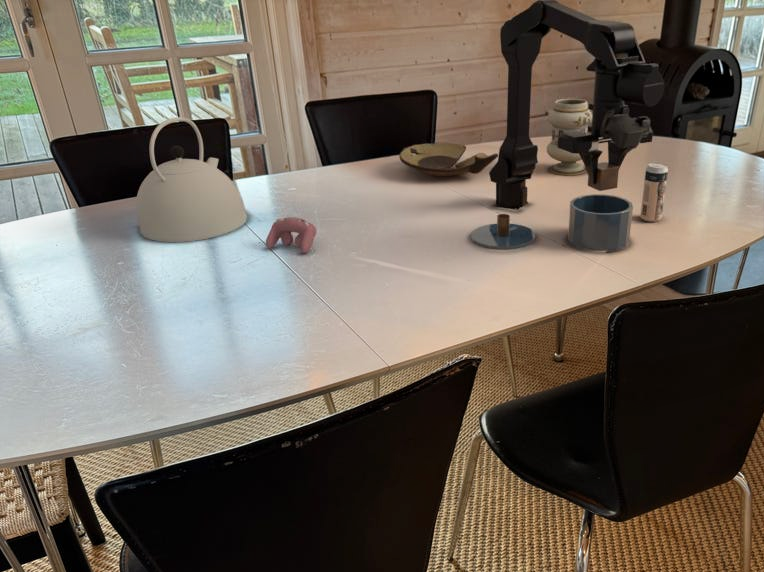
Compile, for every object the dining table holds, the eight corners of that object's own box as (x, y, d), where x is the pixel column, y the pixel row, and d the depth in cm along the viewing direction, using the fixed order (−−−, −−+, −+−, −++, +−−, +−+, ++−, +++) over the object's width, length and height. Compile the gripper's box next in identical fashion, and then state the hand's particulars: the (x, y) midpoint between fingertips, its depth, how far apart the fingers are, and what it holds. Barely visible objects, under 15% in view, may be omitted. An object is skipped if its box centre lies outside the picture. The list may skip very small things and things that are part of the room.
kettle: (184, 201, 163) (160, 104, 151) (269, 206, 159) (251, 107, 147) (117, 238, 143) (83, 129, 131) (213, 245, 138) (187, 133, 127)
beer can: (661, 223, 147) (669, 168, 140) (639, 222, 148) (646, 167, 141) (661, 216, 151) (668, 162, 144) (639, 214, 152) (646, 161, 145)
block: (599, 191, 130) (601, 169, 128) (587, 185, 133) (588, 164, 131) (617, 188, 132) (619, 166, 130) (604, 182, 135) (606, 161, 133)
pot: (558, 246, 136) (560, 208, 132) (580, 227, 145) (583, 191, 141) (617, 257, 131) (621, 218, 127) (635, 236, 140) (640, 199, 136)
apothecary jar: (546, 163, 188) (549, 96, 179) (589, 164, 187) (595, 97, 178) (544, 175, 178) (547, 105, 169) (589, 177, 177) (595, 106, 167)
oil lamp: (454, 156, 196) (453, 129, 192) (511, 180, 175) (512, 151, 171) (385, 168, 186) (383, 140, 182) (437, 196, 165) (436, 164, 161)
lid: (459, 245, 137) (459, 221, 134) (489, 224, 147) (489, 201, 144) (518, 256, 132) (519, 231, 129) (545, 234, 142) (546, 211, 139)
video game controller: (317, 255, 137) (320, 221, 136) (304, 253, 133) (308, 218, 132) (276, 249, 140) (279, 216, 139) (262, 247, 136) (266, 213, 135)
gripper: (593, 111, 114) (587, 200, 122) (677, 100, 121) (666, 185, 130) (557, 101, 123) (554, 185, 131) (638, 91, 130) (630, 171, 138)
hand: (602, 182), depth 132 cm, fingers closed on block, 4 cm apart
